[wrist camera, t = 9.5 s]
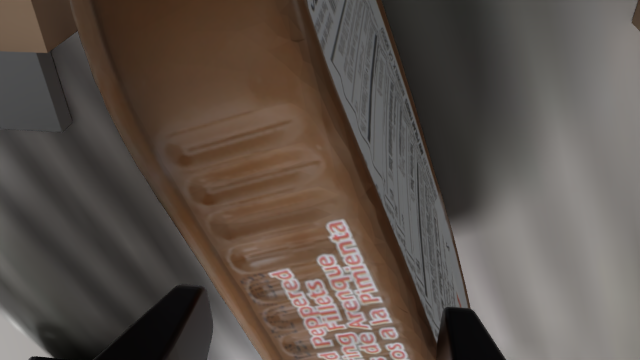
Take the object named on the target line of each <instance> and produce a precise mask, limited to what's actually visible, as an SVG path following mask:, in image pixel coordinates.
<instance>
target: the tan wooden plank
mask: <svg viewBox="0 0 640 360" xmlns="http://www.w3.org/2000/svg"><path fill="white" fill-rule="evenodd" d="M632 24H633V25H634V26H635V27H636V28H637V29H638V30H639V31H640V0H639V1H638V4H637V7H636V11H635V14H634V17H633V20H632ZM77 31H78V30H77V27H76V24H75V21H74V17H73V14H72V9H71V5H70V0H0V51H7V52H34V53H48V52H50V51H51V50H52V49H54V48H55V47H56V46H58V45H59V44H60V43H62V42H63V41H65V40H66V39H67V38H69V37H70V36H71V35H73V34H74V33H75V32H77Z"/></svg>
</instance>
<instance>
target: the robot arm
mask: <svg viewBox="0 0 640 360" xmlns="http://www.w3.org/2000/svg"><path fill="white" fill-rule="evenodd" d="M212 333H213V320H212V314H211V309H210V304H209V299H208V294H207V291H206V289H205V288H204V287H203V286H198V285H186V284H181V285H178V286H176V287H175V288H173V289H172V290H171V291H170V292H169V293H168V294H167V295H165V296H164V297H163V298H162V299H161V300H160V301H159V302H158V303H156V304H155V305H154V306H153V307H152V308H151V309H150V310H149V311H147V312H146V313H145V314H144V315H143V316H142V317H141V318H140V319H138V320H137V321H136V322H135V323H134V324H133V325H132V326H131V327H129V328H128V329H127V330H126V331H125V332H124V333H123V334H122V335H120V336H119V337H118V338H117V339H116V340H115V341H114V342H113V343H111V344H110V345H109V346H108V347H107V348H106V349H105V350H104V351H102V352H101V353H100V354H99V355H98V356H97V357H96V358H95V359H93V360H207V356H208V352H209V347H210V343H211V339H212ZM29 360H67V359H57V358H47V357H37V356H36V357H31V358H30V359H29ZM436 360H506V359H505V358H504V356H503V354H502V353H501V351H500V350H499V348H498V347H497V345H496V344H495V342H494V341H493V339H492V338H491V336H490V334H489V333H488V331H487V330H486V328H485V327H484V325H483V324H482V322H481V321H480V319H479V318H478V316H477V315H476V313H475V312H474V311H473V310H472V309H469V308H461V307H446V308H444V310H443V312H442V317H441V323H440V329H439V335H438V340H437V349H436Z"/></svg>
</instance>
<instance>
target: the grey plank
mask: <svg viewBox="0 0 640 360" xmlns="http://www.w3.org/2000/svg"><path fill="white" fill-rule="evenodd" d="M71 123H72V120H71V117H70V113H69V110H68V107H67V104H66V101H65V97H64V94H63V91H62V88H61V85H60V81H59V78H58V75H57V72H56V69H55V66H54V62H53V59H52V56H51V53H50V52H48V53H34V52H7V51H0V129H8V130H27V131H46V132H63V131H64V130H65V129H66V128H67V127H68V126H69V125H70V124H71Z"/></svg>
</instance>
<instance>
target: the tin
mask: <svg viewBox="0 0 640 360" xmlns="http://www.w3.org/2000/svg"><path fill="white" fill-rule="evenodd" d="M70 5H71V9H72V14H73V17H74V21H75V24H76V27H77V30H78V33H79V36H80V39H81V43H82V46H83V48H84V51H85V53H86V56H87V59H88V62H89V66H90V69H91V72H92V75H93V78H94V80H95V83H96V84H97V86H98V88H99V90H100V93H101V95H102V97H103V99H104V103H105V106H106V109H107V110H108V112H109V114H110V116H111V118H112V120H113V122H114V124H115V126H116V128H117V130H118V132H119V134H120V136H121V138H122V140H123V142H124V144H125V145H126V147H127V149H128V151H129V152H130V154H131V156H132V158H133V159H134V161H135V163H136V165H137V167H138V168H139V170H140V171H141V173H142V174H143V176H144V177H145V179H146V180H147V182H148V184H149V185H150V187H151V189H152V190H153V192H154V194H155V195H156V197H157V199H158V200H159V202H160V203H161V204H162V206H163V207H164V209H165V210H166V212H167V213H168V215H169V216H170V218H171V219H172V221H173V222H174V224H175V225H176V227H177V228H178V230H179V231H180V233H181V234H182V236H183V238H184V239H185V241H186V242H187V244H188V245H189V247H190V248H191V250H192V251H193V253H194V254H195V256H196V258H197V259H198V261H199V262H200V264H201V265H202V267H203V268H204V270H205V272H206V273H207V275H208V276H209V278H210V280H211V281H212V283H213V285H214V286H215V288H216V289H217V291H218V293H219V294H220V295H221V297H222V298H223V300H224V301H225V303H226V304H227V306H228V307H229V309H230V310H231V312H232V313H233V315H234V316H235V317H236V319H237V321H238V323H239V324H240V326H241V327H242V329H243V330H244V332H245V333H246V335H247V336H248V338H249V340H250V341H251V343H252V344H253V346H254V347H255V348H256V350H257V351H258V353H259V354H260V356H261V358H262V359H263V360H436V349H437V340H438V335H439V329H440V323H441V317H442V312H443V310H444V308H446V307H461V308H469V309H471V308H470V303H469V299H468V294H467V290H466V285H465V281H464V277H463V273H462V269H461V265H460V261H459V256H458V252H457V248H456V244H455V240H454V236H453V233H452V229H451V226H450V222H449V219H448V215H447V212H446V208H445V205H444V201H443V198H442V194H441V191H440V188H439V185H438V182H437V178H436V175H435V172H434V168H433V165H432V162H431V158H430V155H429V151H428V148H427V145H426V142H425V138H424V135H423V131H422V128H421V124H420V121H419V118H418V114H417V111H416V107H415V104H414V101H413V97H412V94H411V91H410V88H409V85H408V81H407V78H406V75H405V72H404V69H403V65H402V62H401V59H400V56H399V53H398V50H397V47H396V44H395V40H394V37H393V34H392V31H391V28H390V25H389V22H388V19H387V16H386V13H385V10H384V7H383V4H382V1H381V0H70Z"/></svg>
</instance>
